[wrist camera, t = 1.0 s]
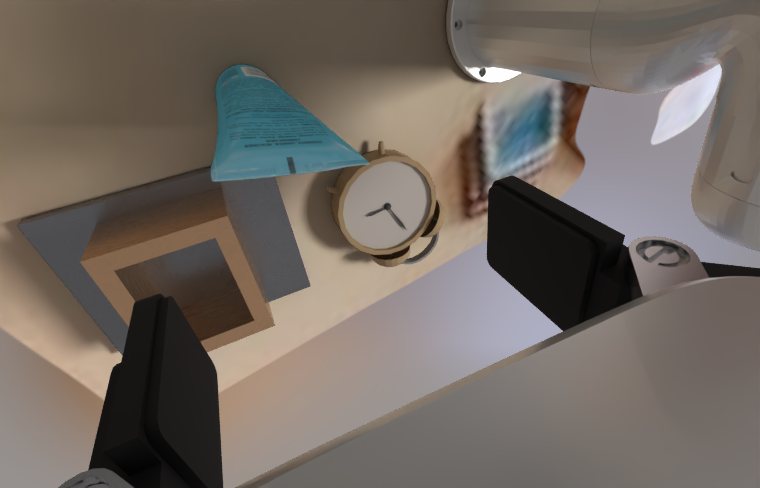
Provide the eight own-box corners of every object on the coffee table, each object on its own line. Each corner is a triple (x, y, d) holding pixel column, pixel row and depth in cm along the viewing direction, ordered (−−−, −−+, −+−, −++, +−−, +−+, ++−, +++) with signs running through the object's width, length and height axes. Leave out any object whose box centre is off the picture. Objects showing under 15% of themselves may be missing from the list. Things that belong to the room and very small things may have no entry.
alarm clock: (400, 129, 37) (472, 233, 44) (384, 124, 42) (453, 219, 49) (313, 205, 38) (398, 296, 45) (307, 192, 42) (386, 277, 49)
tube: (209, 129, 33) (227, 230, 18) (192, 68, 31) (195, 128, 16) (294, 117, 35) (372, 197, 20) (285, 59, 33) (366, 103, 18)
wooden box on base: (265, 151, 36) (279, 178, 30) (308, 280, 45) (325, 319, 39) (22, 219, 31) (-16, 266, 25) (125, 348, 40) (114, 404, 34)
